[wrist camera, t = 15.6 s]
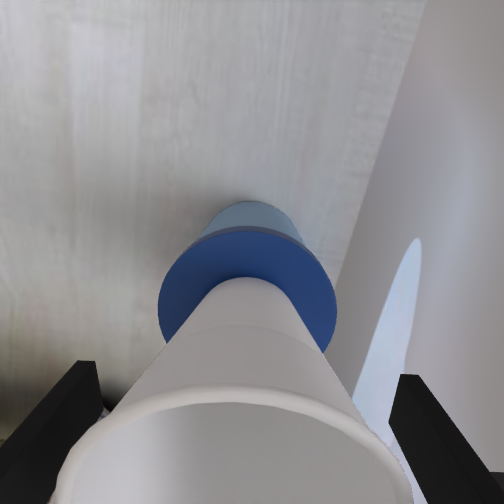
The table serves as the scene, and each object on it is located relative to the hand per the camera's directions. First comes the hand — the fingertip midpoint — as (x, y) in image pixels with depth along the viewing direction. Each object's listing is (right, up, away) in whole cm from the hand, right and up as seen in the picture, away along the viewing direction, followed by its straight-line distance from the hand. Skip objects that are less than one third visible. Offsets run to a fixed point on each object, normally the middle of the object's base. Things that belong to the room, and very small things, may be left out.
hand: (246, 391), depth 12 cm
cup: (0, +2, +6) cm, 6 cm away
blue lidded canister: (0, +6, +19) cm, 20 cm away
